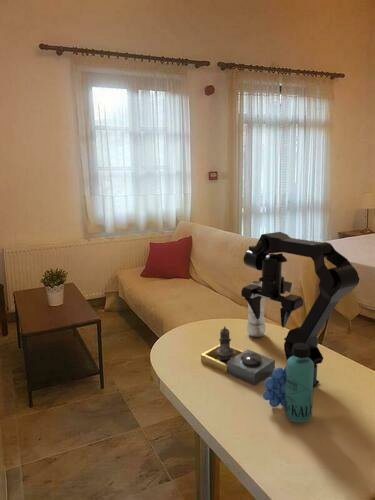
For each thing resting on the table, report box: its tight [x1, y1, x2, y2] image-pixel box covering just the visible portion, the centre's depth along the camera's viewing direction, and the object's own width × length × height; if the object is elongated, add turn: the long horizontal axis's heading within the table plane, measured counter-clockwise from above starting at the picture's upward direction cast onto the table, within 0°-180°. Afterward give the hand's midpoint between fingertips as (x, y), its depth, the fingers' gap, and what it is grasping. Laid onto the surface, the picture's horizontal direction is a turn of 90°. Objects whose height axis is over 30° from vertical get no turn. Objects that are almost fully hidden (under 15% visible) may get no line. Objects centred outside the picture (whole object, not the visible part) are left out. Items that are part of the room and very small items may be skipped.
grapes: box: [262, 364, 287, 408], centre depth 101 cm, size 12×7×12 cm, turn 96°
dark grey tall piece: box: [216, 326, 234, 364], centre depth 123 cm, size 6×6×12 cm
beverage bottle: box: [283, 343, 314, 423], centre depth 94 cm, size 6×7×20 cm
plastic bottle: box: [246, 280, 267, 338], centre depth 139 cm, size 6×7×20 cm
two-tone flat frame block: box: [200, 344, 276, 387], centre depth 120 cm, size 21×11×5 cm, turn 44°
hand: (270, 322), depth 120 cm, fingers open, 9 cm apart
